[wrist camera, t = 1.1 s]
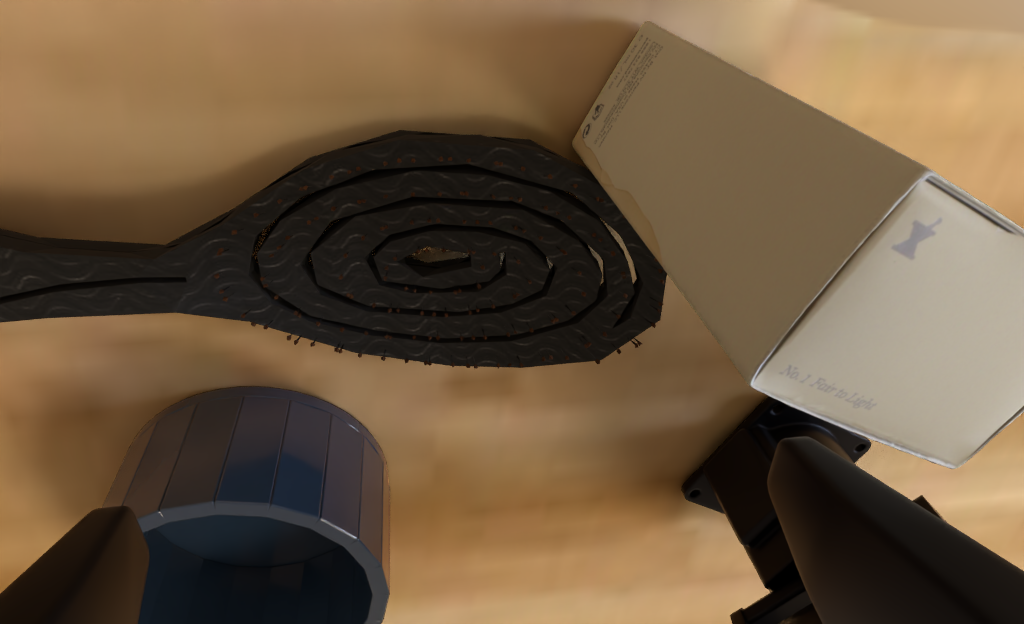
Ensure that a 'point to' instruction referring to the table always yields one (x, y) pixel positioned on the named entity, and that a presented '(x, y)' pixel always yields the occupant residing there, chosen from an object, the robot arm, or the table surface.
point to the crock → (259, 511)
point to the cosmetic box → (816, 251)
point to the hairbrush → (383, 258)
